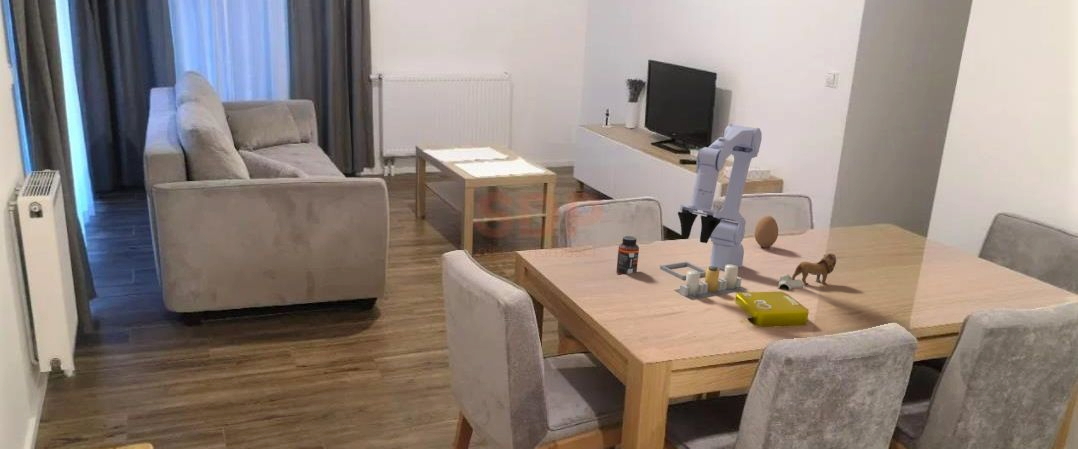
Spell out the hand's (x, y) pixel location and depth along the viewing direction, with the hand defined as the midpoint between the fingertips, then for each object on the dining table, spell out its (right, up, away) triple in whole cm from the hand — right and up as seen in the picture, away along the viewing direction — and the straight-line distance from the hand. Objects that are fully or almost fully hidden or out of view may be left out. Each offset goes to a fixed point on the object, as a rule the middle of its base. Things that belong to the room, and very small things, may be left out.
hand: (694, 240), depth 235 cm
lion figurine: (+39, -13, +20) cm, 46 cm away
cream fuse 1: (-1, -15, +1) cm, 15 cm away
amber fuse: (+5, -14, +5) cm, 16 cm away
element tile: (+19, -20, -7) cm, 29 cm away
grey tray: (0, -11, +19) cm, 22 cm away
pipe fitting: (+30, -15, +12) cm, 36 cm away
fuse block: (+5, -15, +5) cm, 17 cm away
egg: (+33, -3, +53) cm, 62 cm away
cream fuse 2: (+11, -13, +8) cm, 19 cm away
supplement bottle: (-17, -11, +18) cm, 27 cm away
